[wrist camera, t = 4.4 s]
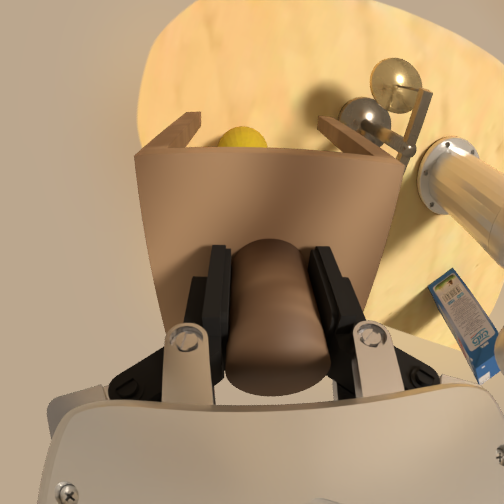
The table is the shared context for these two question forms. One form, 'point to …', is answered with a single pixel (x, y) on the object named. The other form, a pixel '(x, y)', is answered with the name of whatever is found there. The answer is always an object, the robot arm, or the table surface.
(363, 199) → the wooden stool
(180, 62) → the table surface
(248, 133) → the lemon
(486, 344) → the milk carton
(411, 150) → the balance
